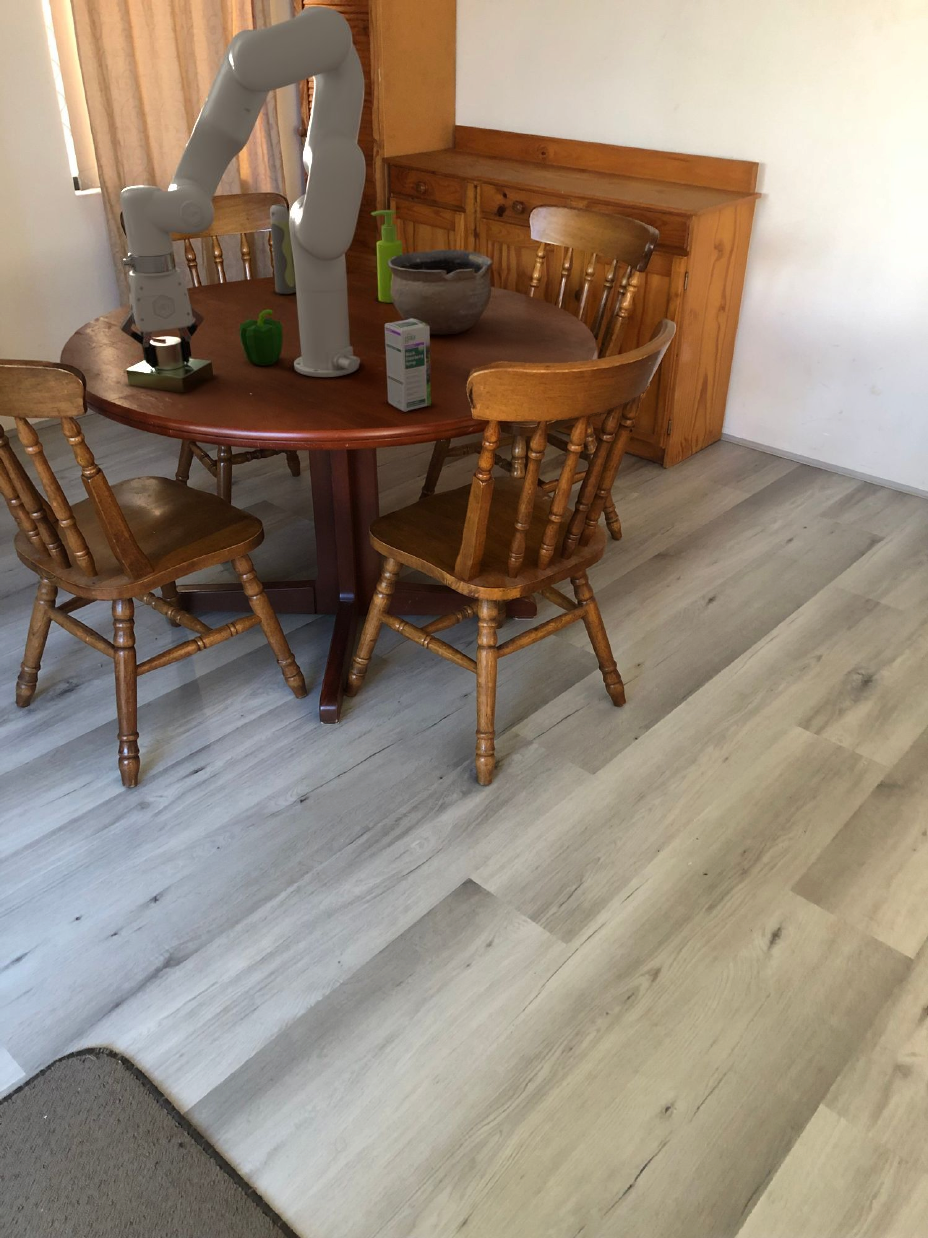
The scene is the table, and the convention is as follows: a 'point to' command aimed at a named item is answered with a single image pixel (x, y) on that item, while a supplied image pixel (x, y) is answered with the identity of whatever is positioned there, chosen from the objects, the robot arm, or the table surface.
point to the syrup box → (408, 364)
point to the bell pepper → (262, 339)
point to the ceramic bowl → (441, 288)
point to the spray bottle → (282, 250)
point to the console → (171, 376)
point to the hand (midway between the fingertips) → (168, 362)
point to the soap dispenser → (386, 255)
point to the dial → (168, 352)
